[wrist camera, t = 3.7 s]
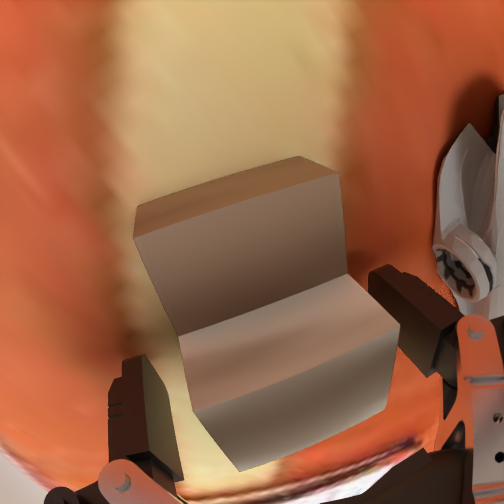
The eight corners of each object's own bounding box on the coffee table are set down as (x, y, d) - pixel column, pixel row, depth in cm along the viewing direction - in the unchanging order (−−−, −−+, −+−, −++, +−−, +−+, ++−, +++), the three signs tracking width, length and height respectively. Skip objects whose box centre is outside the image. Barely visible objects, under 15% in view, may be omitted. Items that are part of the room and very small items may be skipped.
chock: (320, 321, 13) (385, 408, 9) (206, 364, 12) (239, 472, 8) (296, 154, 9) (408, 205, 5) (137, 204, 9) (126, 304, 4)
